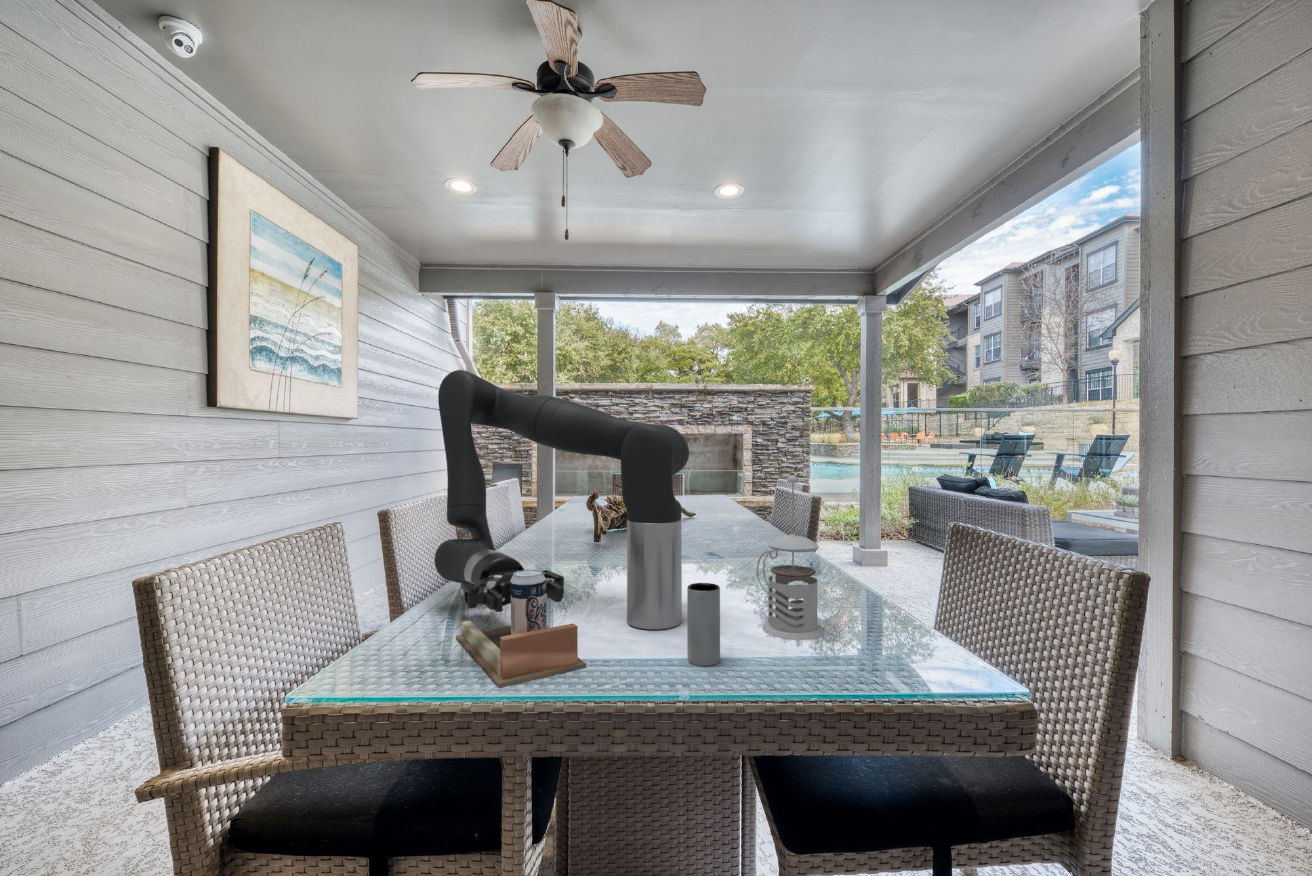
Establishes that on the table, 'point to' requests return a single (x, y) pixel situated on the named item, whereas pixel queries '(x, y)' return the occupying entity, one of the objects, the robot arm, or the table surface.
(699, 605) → the gray cylindrical tube
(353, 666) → the table surface
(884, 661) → the table surface
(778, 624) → the french press
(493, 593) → the robot arm
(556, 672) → the keeper track
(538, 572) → the beer can
